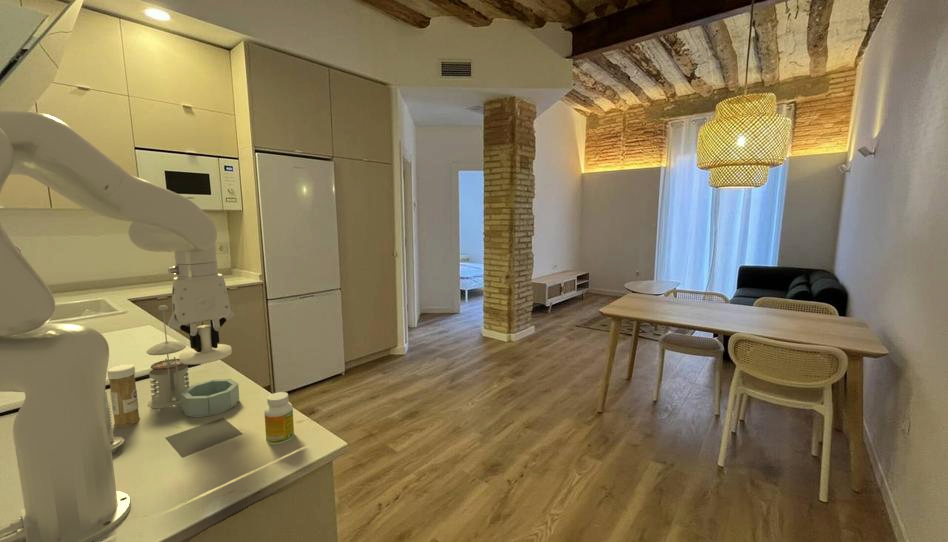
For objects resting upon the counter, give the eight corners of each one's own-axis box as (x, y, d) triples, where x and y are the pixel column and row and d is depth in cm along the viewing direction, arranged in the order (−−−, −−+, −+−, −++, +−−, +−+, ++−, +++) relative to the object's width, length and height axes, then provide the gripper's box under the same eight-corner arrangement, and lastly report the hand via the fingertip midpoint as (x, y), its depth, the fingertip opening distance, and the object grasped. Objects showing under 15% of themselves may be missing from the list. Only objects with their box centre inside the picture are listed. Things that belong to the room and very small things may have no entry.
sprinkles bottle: (138, 425, 89) (132, 368, 87) (111, 431, 86) (104, 372, 84) (141, 416, 93) (135, 362, 91) (116, 422, 90) (109, 366, 88)
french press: (191, 387, 108) (183, 299, 105) (200, 401, 100) (192, 306, 97) (145, 399, 101) (135, 304, 98) (150, 415, 93) (140, 312, 90)
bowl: (193, 423, 90) (191, 402, 89) (178, 408, 96) (176, 389, 96) (245, 405, 98) (243, 387, 98) (227, 393, 105) (226, 375, 104)
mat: (182, 459, 77) (182, 457, 76) (165, 439, 83) (165, 437, 83) (243, 435, 85) (242, 433, 85) (223, 419, 92) (223, 417, 92)
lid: (187, 368, 83) (183, 336, 82) (173, 356, 90) (170, 327, 89) (238, 355, 91) (235, 326, 90) (223, 345, 97) (220, 317, 96)
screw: (128, 444, 81) (121, 456, 77) (97, 450, 79) (88, 463, 75) (121, 384, 80) (113, 394, 75) (90, 389, 77) (79, 399, 73)
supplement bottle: (290, 444, 82) (287, 400, 81) (262, 447, 81) (259, 402, 80) (296, 431, 87) (294, 389, 86) (270, 433, 86) (268, 391, 85)
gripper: (156, 277, 79) (167, 363, 82) (243, 267, 91) (250, 343, 94) (147, 272, 83) (157, 354, 86) (231, 264, 96) (237, 336, 99)
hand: (205, 348), depth 90 cm, fingers closed on lid, 2 cm apart
